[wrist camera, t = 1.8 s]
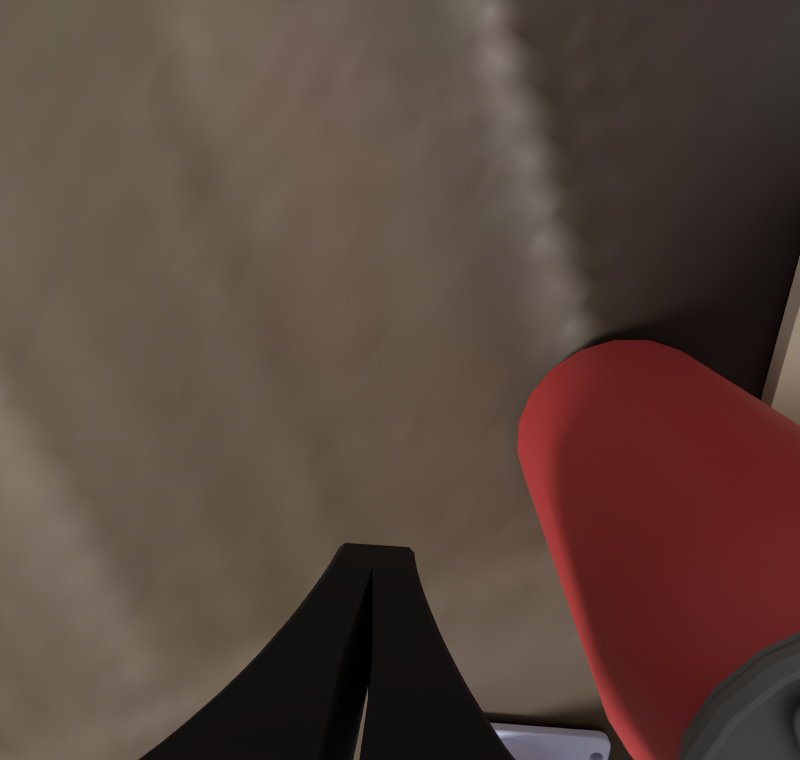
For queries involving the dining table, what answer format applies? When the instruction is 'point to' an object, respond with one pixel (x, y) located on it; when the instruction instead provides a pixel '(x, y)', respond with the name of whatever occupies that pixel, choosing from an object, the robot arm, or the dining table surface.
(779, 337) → the birch tray
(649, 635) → the beer can
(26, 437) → the dining table surface
